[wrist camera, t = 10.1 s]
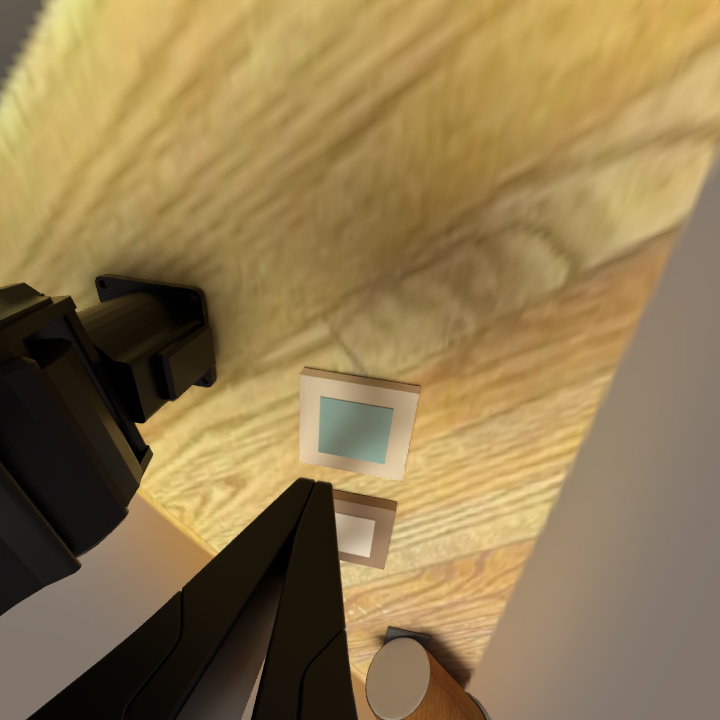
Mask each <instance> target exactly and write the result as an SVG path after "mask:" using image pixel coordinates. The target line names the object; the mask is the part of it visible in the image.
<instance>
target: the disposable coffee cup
mask: <svg viewBox="0 0 720 720" xmlns="http://www.w3.org/2000/svg"><path fill="white" fill-rule="evenodd" d="M366 698H367V701H368V704H369V706H370V708H371V710H372V712H373V714H374V716H375V717H376V719H377V720H492V719H491V718H490V716H489V714H488V713H487V711H486V709H485V708H484V707H483V706H482V704H481V703H480V702H479V701H478V700H477V699H476V698H474V697H473V696H472V695H471V694H470V693H468V692H465V691H464V690H463V689H462V688H461V687H460V686H459V685H458V684H457V682H456V681H455V680H454V679H453V678H452V677H451V676H450V675H449V674H448V673H447V672H446V671H445V669H444V668H443V667H442V666H441V665H440V664H439V663H438V662H437V661H436V660H435V659H434V658H433V656H432V655H431V654H430V653H429V652H428V651H427V650H426V649H425V648H424V647H423V646H422V644H421V643H420V642H418V641H417V640H415V639H413V638H410V637H399V638H396V639H393V640H391V641H389V642H388V643H386V644H385V645H384V646H383V647H382V648H381V649H380V650H379V651H378V652H377V653H376V655H375V657H374V658H373V660H372V662H371V664H370V667H369V670H368V673H367V678H366Z"/></svg>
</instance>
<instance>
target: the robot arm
mask: <svg viewBox="0 0 720 720" xmlns="http://www.w3.org/2000/svg"><path fill="white" fill-rule="evenodd" d="M105 282H106V284H107V285H106V284H105ZM95 284H96V288H97V291H98V295H99V298H100V302H101V303H99V304H97V305H95V306H92V307H90V308H88V309H85V310H83V311H80V312H78V313H76V311H75V309H76V308H77V307H76V305H75V303H74V301H73V299H72V298H71V296H59V297H50V296H45V295H44V294H43V293H39V292H38V291H36V290H35V289H33V288H32V287H30V286H29V285H27V284H26V283H16V284H10V285H7V286H3V287H0V616H1V615H2V614H4V613H5V612H6V611H8V610H9V609H11V608H12V607H13V606H15V605H16V604H18V603H19V602H21V601H22V600H24V599H26V598H27V597H29V596H31V595H32V594H34V593H35V592H37V591H39V590H41V589H42V588H44V587H45V586H48V585H50V584H52V583H54V582H56V581H59V580H61V579H63V578H65V577H67V576H69V575H72V574H74V573H76V572H77V571H78V570H79V569H80V568H81V563H80V561H79V560H78V559H77V558H78V557H80V556H82V555H83V554H85V553H87V552H88V551H89V550H91V549H92V548H94V547H95V546H97V545H98V544H99V543H100V542H101V541H102V540H104V539H105V538H106V537H107V536H108V535H109V534H110V533H112V531H113V530H114V529H115V528H116V527H117V526H118V525H119V524H120V523H121V522H122V521H123V520H124V519H125V518H126V516H127V514H128V512H129V510H128V508H127V507H128V505H129V503H130V501H131V499H132V497H133V496H134V494H135V493H136V491H137V489H138V488H139V486H140V481H141V479H142V476H143V474H144V472H145V470H146V468H147V466H148V464H149V462H150V460H151V458H152V456H153V452H152V450H151V449H150V447H149V445H146V444H145V442H144V440H143V438H142V436H141V434H140V432H139V430H138V428H137V427H136V425H135V423H134V422H136V423H145V422H146V421H147V420H148V419H149V418H150V417H151V416H152V415H153V414H155V413H156V412H157V411H158V410H159V409H160V408H161V407H162V406H163V405H164V404H166V403H167V402H168V401H175V400H176V399H178V398H179V397H180V396H181V395H182V394H183V393H184V392H185V391H186V390H187V389H188V388H189V387H191V386H192V385H196V386H201V387H211V386H212V385H213V384H214V383H215V382H216V375H215V367H214V364H215V357H214V349H213V341H212V334H211V328H210V326H209V322H208V314H207V307H206V299H205V295H204V293H203V291H202V290H201V289H199V288H197V287H192V286H185V285H178V284H171V283H164V282H157V281H150V280H143V279H136V278H129V277H122V276H115V275H108V274H104V275H101V276H98V277H96V279H95ZM193 294H195V295H196V297H197V299H195V298H194V297H193ZM206 378H207V379H208V380H209V381H208V380H207V379H206ZM345 628H346V625H345V614H344V603H343V593H342V582H341V571H340V560H339V550H338V539H337V528H336V517H335V506H334V496H333V486H332V484H331V483H329V482H324V481H316V482H315V480H313V479H308V478H303V477H300V478H298V479H297V480H296V481H295V482H294V483H293V484H292V485H291V486H290V487H288V488H287V489H286V490H285V491H284V492H283V493H282V494H281V495H280V496H279V497H278V498H277V499H276V500H275V501H274V502H273V503H272V504H271V505H269V506H268V507H267V508H266V509H265V510H264V511H263V512H262V513H261V514H260V515H259V516H258V517H257V518H256V519H255V520H254V521H253V522H251V523H250V524H249V525H248V526H247V527H246V528H245V529H244V530H243V531H242V532H241V533H240V534H239V535H238V536H237V537H236V538H235V539H234V540H232V541H231V542H230V543H229V544H228V545H227V546H226V547H225V548H224V549H223V550H222V551H221V552H220V553H219V554H218V555H217V556H216V557H214V558H213V559H212V560H211V561H210V562H209V563H208V564H207V565H206V566H205V567H204V568H203V569H202V570H201V571H200V572H199V573H198V574H196V575H195V576H194V577H193V578H192V579H191V580H190V581H189V582H188V583H187V584H186V585H185V586H184V587H183V588H182V591H179V592H177V593H176V594H175V595H174V596H173V597H172V598H171V599H170V600H169V601H168V602H167V603H166V604H165V605H164V606H163V607H161V609H159V610H158V611H157V612H156V613H155V614H154V615H153V616H152V617H150V618H149V619H148V620H147V621H146V622H145V623H144V624H143V625H142V626H140V627H139V628H138V629H137V630H136V631H135V632H134V633H133V634H131V635H130V636H129V637H128V638H126V639H125V640H124V641H123V642H122V643H120V644H119V645H118V646H117V647H116V648H114V649H113V650H112V651H111V652H109V653H108V654H107V655H106V656H105V657H103V658H102V659H101V660H100V661H99V662H97V663H96V664H95V665H94V666H92V667H91V668H90V669H88V670H87V671H86V672H85V673H84V674H82V675H81V676H80V677H79V678H77V679H76V680H75V681H74V682H72V683H71V684H70V685H69V686H67V687H66V688H65V689H64V690H62V691H61V692H60V693H59V694H57V695H56V696H55V697H54V698H52V699H51V700H50V701H49V702H48V703H46V704H45V705H44V706H42V707H41V708H40V709H39V710H37V711H36V712H35V713H34V714H32V715H31V716H30V717H29V718H27V719H26V720H241V718H242V715H243V713H244V710H245V707H246V705H247V702H248V700H249V697H250V695H251V692H252V690H253V687H254V684H255V682H256V679H257V676H258V674H259V671H260V669H261V666H262V663H263V661H264V658H265V656H266V658H265V663H264V667H263V671H262V675H261V679H260V683H259V688H258V692H257V696H256V700H255V704H254V709H253V713H252V717H251V720H358V716H357V710H356V704H355V699H354V694H353V687H352V680H351V671H350V663H349V655H348V645H347V634H346V631H345ZM266 653H267V654H266Z"/></svg>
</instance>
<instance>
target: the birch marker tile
mask: <svg viewBox="0 0 720 720" xmlns="http://www.w3.org/2000/svg"><path fill="white" fill-rule="evenodd" d="M419 392H420V386H413V385H407V384H401V383H395V382H389V381H383V380H376V379H370V378H364V377H358V376H352V375H345V374H339V373H333V372H327V371H321V370H315V369H308V368H304V369H303V370H302V372H301V373H300V462H303V463H308V464H314V465H319V466H324V467H329V468H335V469H340V470H345V471H350V472H356V473H361V474H366V475H372V476H377V477H382V478H387V479H393V480H398V481H402V478H403V473H404V468H405V463H406V458H407V453H408V448H409V443H410V438H411V433H412V428H413V423H414V418H415V414H416V409H417V404H418V399H419Z"/></svg>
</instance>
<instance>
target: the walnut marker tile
mask: <svg viewBox="0 0 720 720" xmlns="http://www.w3.org/2000/svg"><path fill="white" fill-rule="evenodd" d="M333 496H334V506H335V517H336V528H337V539H338V550H339V560H342V561H347V562H351V563H356V564H360V565H365V566H370V567H374V568H379V569H384V568H385V563H386V558H387V553H388V548H389V543H390V538H391V533H392V528H393V523H394V518H395V513H396V504H397V502H394V501H389V500H384V499H378V498H373V497H368V496H363V495H358V494H353V493H348V492H343V491H338V490H333Z"/></svg>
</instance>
